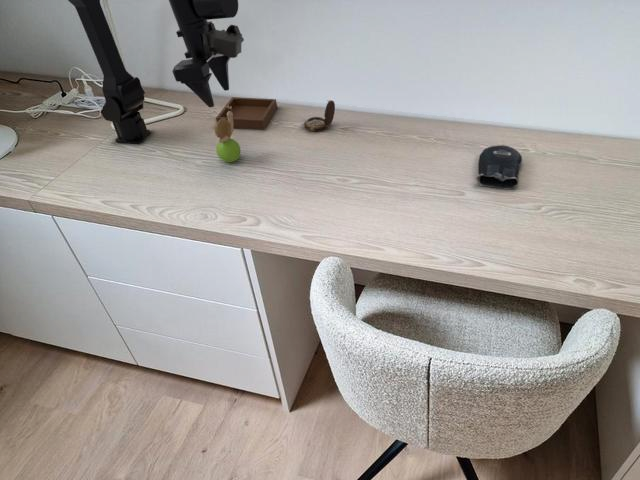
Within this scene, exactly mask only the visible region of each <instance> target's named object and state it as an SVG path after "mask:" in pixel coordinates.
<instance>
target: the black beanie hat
mask: <svg viewBox="0 0 640 480" xmlns="http://www.w3.org/2000/svg"><path fill="white" fill-rule="evenodd" d="M522 161H523V157H522V153H520V152H519V151H518V150H517V149H516V148H514V147H512V146H509V145H504V144H498V145H492V146H488V147H486V148H484V149H483V150H482V152H481V153H480V154H479V159H478V170H477V171H478V174H477V176H476V177H475V179H476V182H477V185H478V187H490V188H496V189H502V190H510V189H513V188H515V187H516V186H518V185H519V181H518V178H519V177H518V176H519V171H520V165H521V163H522Z"/></svg>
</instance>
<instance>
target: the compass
mask: <svg viewBox="0 0 640 480" xmlns="http://www.w3.org/2000/svg"><path fill="white" fill-rule="evenodd" d="M326 102H327V104H326V106H325V110H324V115H323V116H324V117H321V116H313V117H310V118H308V119H307V120H305V121H304V128H305V129H306V132H308V133H310V132H311V133H314V132H320V131H324V130H325V129H327V128H328V127H329V126H331V124H332V122H333V120H334V116H335V111H336V104H335V101H334V100H332V99H331V100H326Z"/></svg>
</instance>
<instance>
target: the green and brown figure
mask: <svg viewBox="0 0 640 480" xmlns="http://www.w3.org/2000/svg"><path fill="white" fill-rule="evenodd" d="M227 108H229V106H227ZM230 109H232V107H231V106H230ZM227 117H228V121H227V120H226V119H220V120H219V121H218V122H217V121H216V124H215V126H214V133H215V136H216V137H217V138H218V140H217V141H218V143H217V145H216V154H217V156H218V158H219V159H220V160H222V161H223V162H225V163H233V162H236V161H237V160H238V159H239V158H240V156H241V151H242V150H241V149H242V148H241V146H240V144H239V142H238V141H237V140H235V139H233V138H231V137H232V135H233V134H234V128H233V113H232V110H231V111H229V112H227Z"/></svg>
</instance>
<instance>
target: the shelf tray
mask: <svg viewBox="0 0 640 480" xmlns="http://www.w3.org/2000/svg"><path fill="white" fill-rule="evenodd" d="M227 106H229V108H227ZM230 106H231V107H232V109H230ZM231 110H232V113H233V129H244V130H259V131H261V130H262V131H265V130H266V128H267V126H268V124H269V123H270V121H271V120H272V118H273V116H274V115H275V113H276V111H277V110H278V102H277V99H276V98H261V97H260V98H259V97H239V96H237V97H235V96H234V97H233V96H232V97H231V98H230V99H229V100H228V102H227V103H226V104H225V105H224V107H223V108H222V110H221V111H220V112H219V113H218V114H217V116H216V117H215V120H216V123H217V122H218V121H219V120H220V119H226V120H227V121H228V117H227V112H229V111H231Z"/></svg>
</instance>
